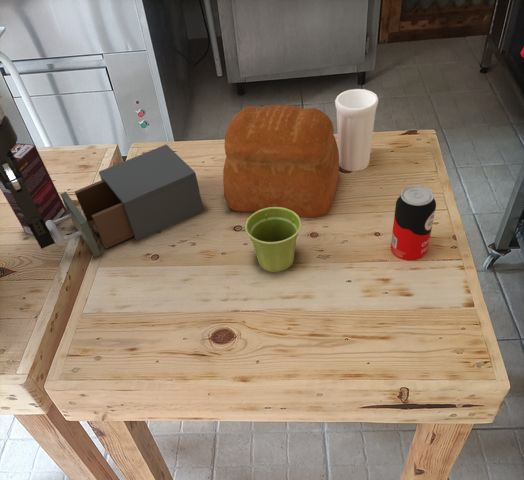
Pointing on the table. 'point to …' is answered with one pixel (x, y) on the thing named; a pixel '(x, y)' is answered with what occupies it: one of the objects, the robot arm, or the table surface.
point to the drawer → (94, 217)
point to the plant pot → (274, 236)
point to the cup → (355, 127)
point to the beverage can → (413, 222)
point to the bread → (281, 160)
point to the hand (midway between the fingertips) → (47, 243)
